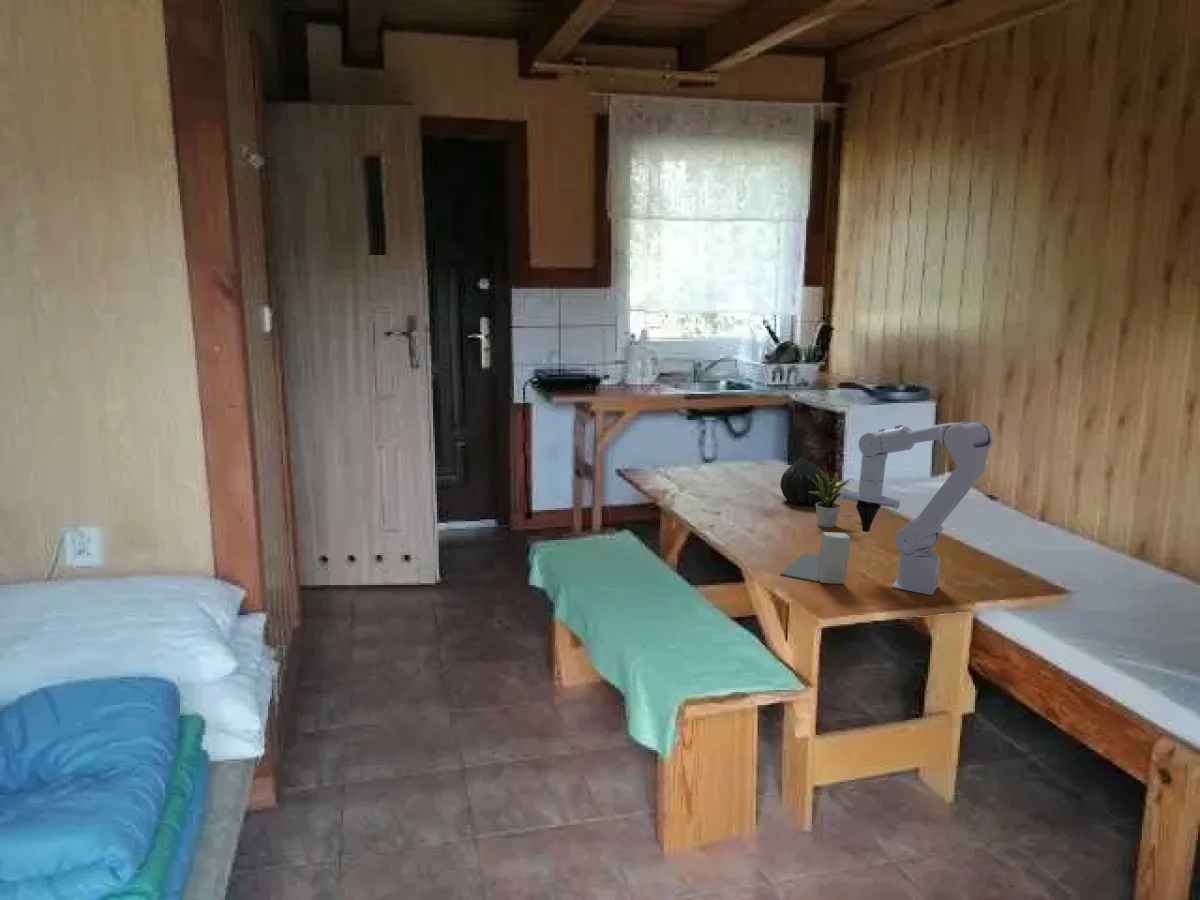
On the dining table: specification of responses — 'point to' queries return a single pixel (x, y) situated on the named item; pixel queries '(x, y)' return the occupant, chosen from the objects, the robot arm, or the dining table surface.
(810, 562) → the mat
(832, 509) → the house plant
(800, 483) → the squash
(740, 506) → the dining table surface
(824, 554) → the skincare box
